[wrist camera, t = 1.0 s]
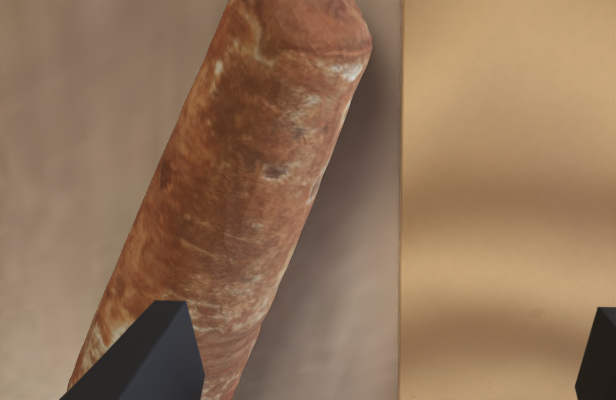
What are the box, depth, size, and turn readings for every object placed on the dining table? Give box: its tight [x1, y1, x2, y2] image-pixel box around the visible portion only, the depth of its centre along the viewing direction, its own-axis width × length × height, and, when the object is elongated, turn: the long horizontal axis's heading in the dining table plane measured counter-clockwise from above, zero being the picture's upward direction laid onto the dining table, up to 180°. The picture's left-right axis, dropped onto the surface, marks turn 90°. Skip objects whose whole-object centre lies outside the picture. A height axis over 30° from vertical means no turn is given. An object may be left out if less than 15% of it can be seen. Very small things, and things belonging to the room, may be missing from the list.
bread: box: [67, 0, 373, 400], centre depth 18 cm, size 6×19×6 cm, turn 155°
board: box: [397, 0, 616, 400], centre depth 18 cm, size 22×12×2 cm, turn 5°
